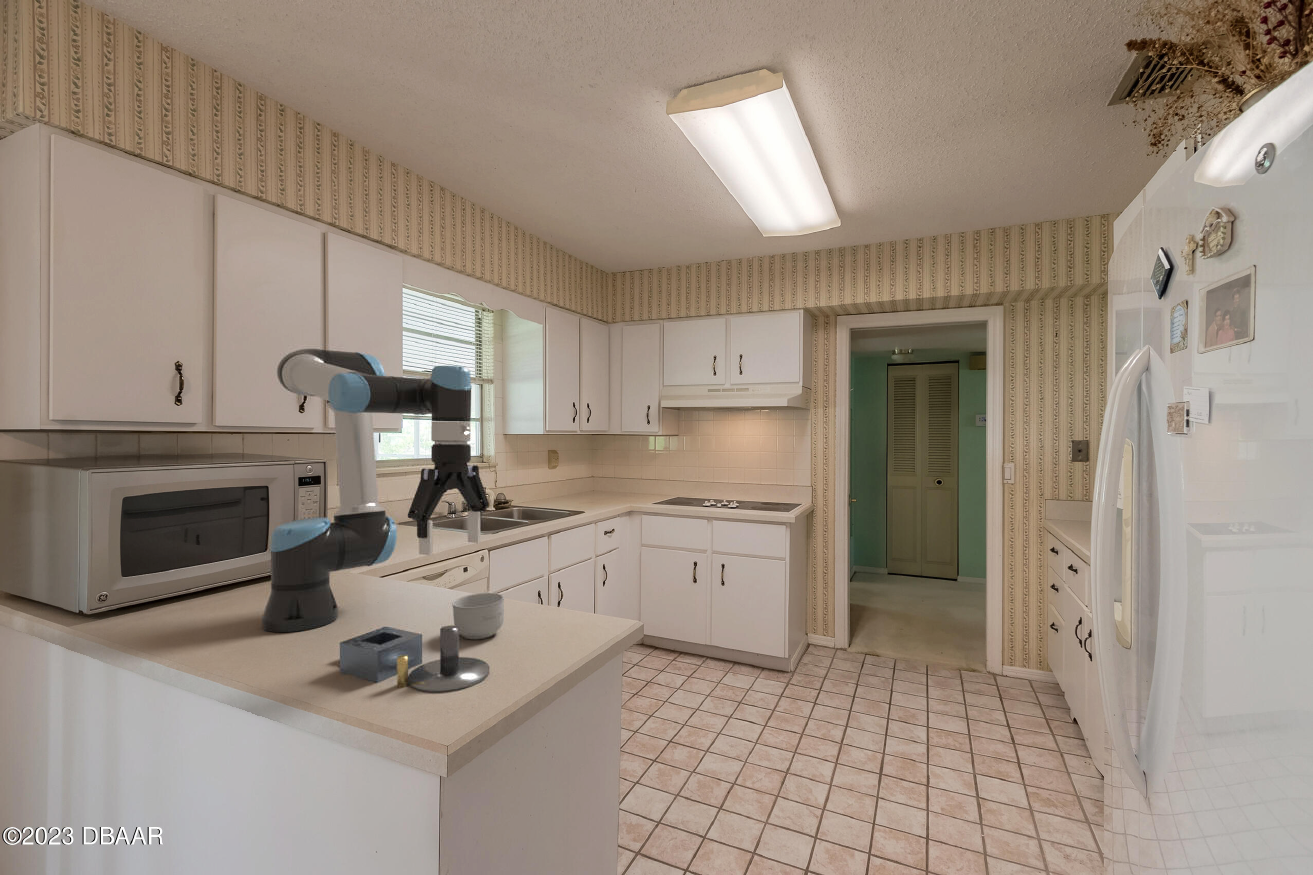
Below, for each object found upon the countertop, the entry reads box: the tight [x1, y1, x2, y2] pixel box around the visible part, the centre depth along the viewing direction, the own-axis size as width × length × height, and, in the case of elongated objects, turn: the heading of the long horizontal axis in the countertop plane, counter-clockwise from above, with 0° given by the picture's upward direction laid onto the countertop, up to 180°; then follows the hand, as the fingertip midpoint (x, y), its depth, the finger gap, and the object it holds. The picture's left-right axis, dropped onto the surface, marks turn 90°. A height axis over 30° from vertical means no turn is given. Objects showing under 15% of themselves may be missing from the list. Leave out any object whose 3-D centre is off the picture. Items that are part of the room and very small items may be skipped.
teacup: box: [451, 590, 505, 640], centre depth 131 cm, size 14×11×8 cm
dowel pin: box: [396, 655, 409, 688], centre depth 104 cm, size 2×2×5 cm
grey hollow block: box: [339, 626, 423, 683], centre depth 113 cm, size 15×10×6 cm, turn 64°
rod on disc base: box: [408, 625, 490, 693], centre depth 108 cm, size 14×14×9 cm
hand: (451, 548), depth 120 cm, fingers open, 13 cm apart
